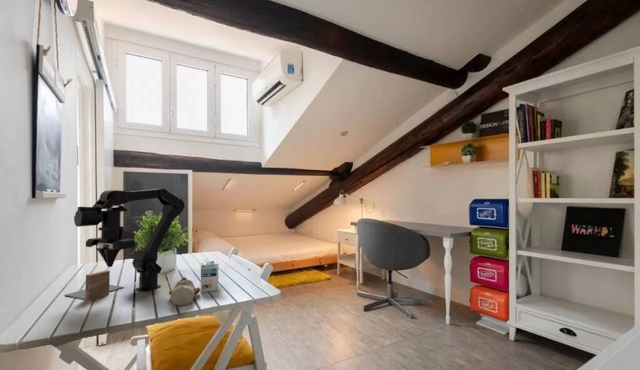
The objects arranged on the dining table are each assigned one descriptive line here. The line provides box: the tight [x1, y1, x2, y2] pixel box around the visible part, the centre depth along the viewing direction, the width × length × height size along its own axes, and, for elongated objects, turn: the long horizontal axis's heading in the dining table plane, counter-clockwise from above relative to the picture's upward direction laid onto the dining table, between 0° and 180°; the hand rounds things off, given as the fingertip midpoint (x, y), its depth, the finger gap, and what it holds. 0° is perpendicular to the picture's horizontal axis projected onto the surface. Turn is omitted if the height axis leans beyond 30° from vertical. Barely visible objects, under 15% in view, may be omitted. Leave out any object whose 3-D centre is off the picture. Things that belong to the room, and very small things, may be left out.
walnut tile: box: [84, 269, 111, 301], centre depth 108 cm, size 2×7×9 cm, turn 160°
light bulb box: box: [200, 258, 219, 293], centre depth 119 cm, size 11×7×11 cm, turn 22°
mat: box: [64, 284, 124, 300], centre depth 114 cm, size 12×14×1 cm
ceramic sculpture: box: [168, 277, 201, 307], centre depth 104 cm, size 11×9×15 cm
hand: (110, 266), depth 106 cm, fingers closed
